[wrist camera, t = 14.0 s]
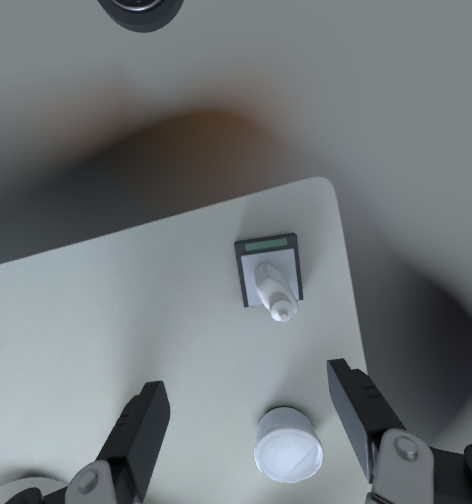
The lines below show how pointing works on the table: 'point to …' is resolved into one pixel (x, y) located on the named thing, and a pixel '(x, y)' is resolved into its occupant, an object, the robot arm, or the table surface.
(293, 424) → the ramekin
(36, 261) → the table surface
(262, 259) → the kitchen scale
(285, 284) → the eye dropper bottle
